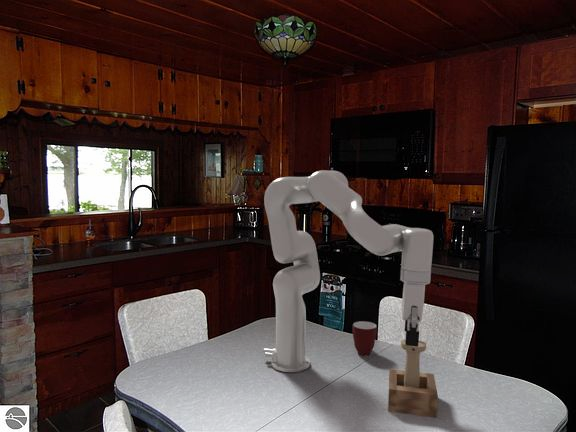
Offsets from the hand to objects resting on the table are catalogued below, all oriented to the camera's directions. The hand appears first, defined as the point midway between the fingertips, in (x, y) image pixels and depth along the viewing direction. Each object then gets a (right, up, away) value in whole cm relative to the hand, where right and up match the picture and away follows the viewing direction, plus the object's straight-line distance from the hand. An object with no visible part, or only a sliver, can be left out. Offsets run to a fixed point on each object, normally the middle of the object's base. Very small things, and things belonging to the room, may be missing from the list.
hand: (411, 338), depth 117 cm
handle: (0, -16, +1) cm, 16 cm away
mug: (-7, -15, +35) cm, 38 cm away
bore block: (0, -18, +1) cm, 18 cm away
